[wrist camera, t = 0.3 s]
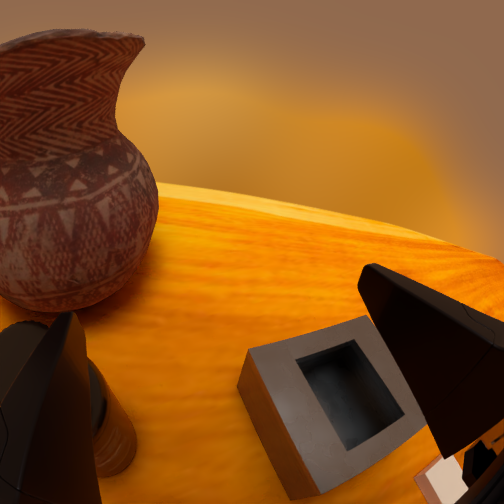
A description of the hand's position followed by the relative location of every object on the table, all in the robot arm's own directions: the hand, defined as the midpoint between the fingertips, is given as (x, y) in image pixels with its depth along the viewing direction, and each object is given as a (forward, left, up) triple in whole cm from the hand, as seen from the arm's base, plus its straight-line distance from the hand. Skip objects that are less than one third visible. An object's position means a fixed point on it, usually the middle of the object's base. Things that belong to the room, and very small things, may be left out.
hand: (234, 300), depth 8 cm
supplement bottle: (+2, +9, -17) cm, 19 cm away
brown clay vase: (+22, +11, -17) cm, 29 cm away
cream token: (-14, -16, -17) cm, 27 cm away
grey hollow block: (-1, -9, -16) cm, 19 cm away
